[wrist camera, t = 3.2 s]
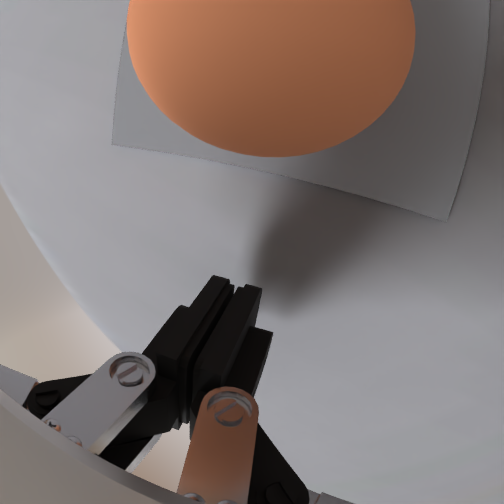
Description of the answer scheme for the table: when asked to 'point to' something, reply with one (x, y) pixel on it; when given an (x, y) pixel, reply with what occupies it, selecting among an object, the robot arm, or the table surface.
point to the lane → (373, 137)
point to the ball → (272, 68)
